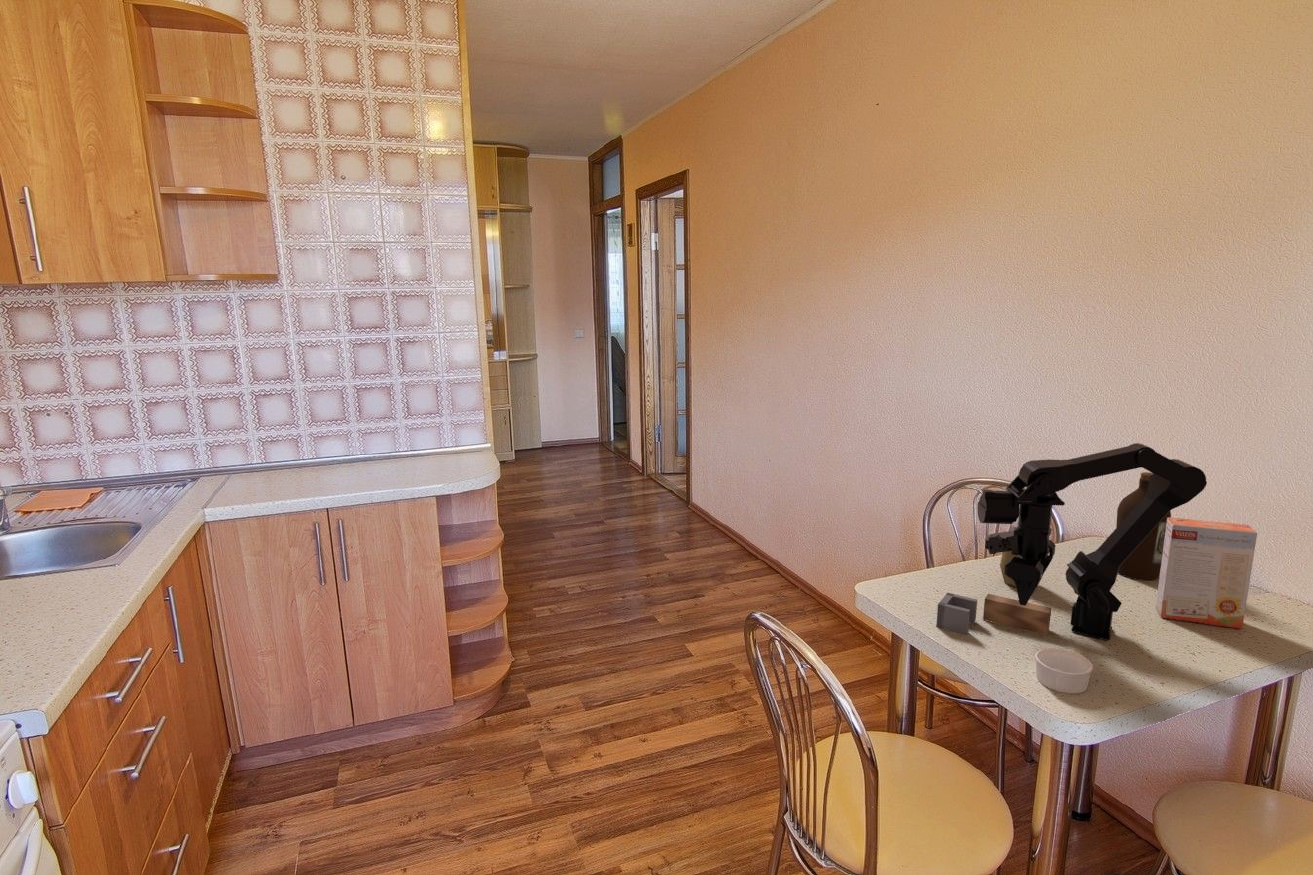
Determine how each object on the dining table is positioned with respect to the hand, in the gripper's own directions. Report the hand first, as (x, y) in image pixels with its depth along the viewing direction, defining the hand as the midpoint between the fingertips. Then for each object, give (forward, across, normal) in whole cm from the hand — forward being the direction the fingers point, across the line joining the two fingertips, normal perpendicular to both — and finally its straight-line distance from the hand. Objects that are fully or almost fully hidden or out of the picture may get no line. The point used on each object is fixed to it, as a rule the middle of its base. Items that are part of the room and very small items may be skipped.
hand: (1027, 596), depth 145 cm
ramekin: (+7, +19, +9) cm, 22 cm away
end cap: (+6, +7, -12) cm, 15 cm away
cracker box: (+7, -25, +28) cm, 38 cm away
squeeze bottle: (+7, -23, -6) cm, 25 cm away
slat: (+7, 0, -2) cm, 7 cm away
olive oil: (+7, -46, +16) cm, 49 cm away
